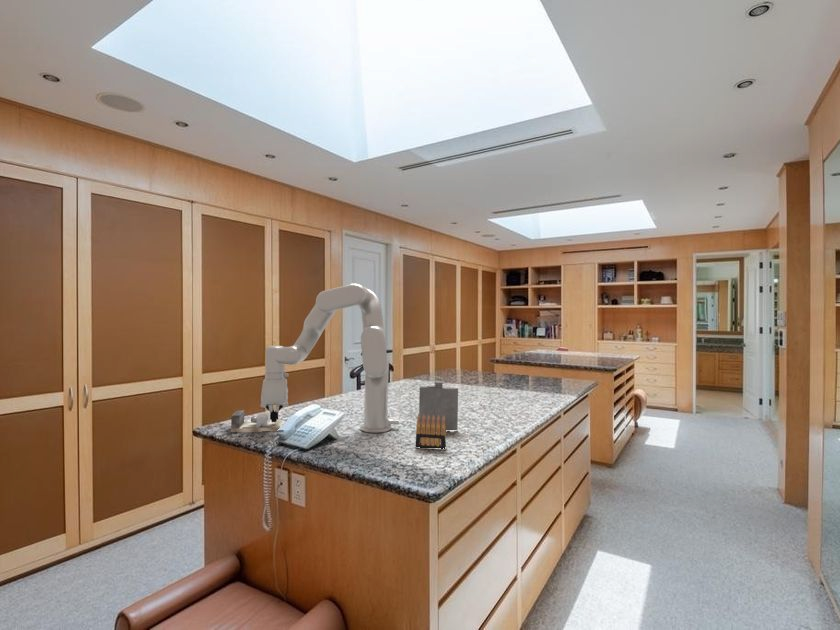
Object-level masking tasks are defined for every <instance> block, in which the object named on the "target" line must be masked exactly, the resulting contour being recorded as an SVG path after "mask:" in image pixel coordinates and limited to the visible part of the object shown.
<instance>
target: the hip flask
mask: <svg viewBox="0 0 840 630" xmlns="http://www.w3.org/2000/svg"><path fill="white" fill-rule="evenodd" d="M433 384H434V385H427V386H426V385H424V386H422V385H421V386H419V398H418V400H419V402H418V403H419V405H418V414H419V415H420V422H421V425H422V417H423V414H424V415H425V425H427V417H428V414H429V416H430V426H431V425H432V417H433V415H434V416H435V427H436V425H437V417H438V415H439V417H440V427H441V426H442V417H443V415H444V417H445V427H446V430H457V431H458V425H459V424H458V419H459V418H458V417H459V415H458V414H459V412H458V411H459V409H458V408H459V387H445V386H444V387H443V385H444V381H434V383H433Z"/></svg>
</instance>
